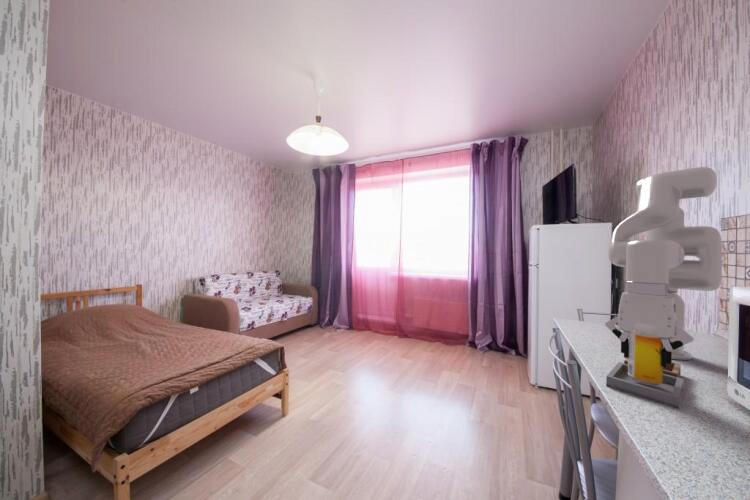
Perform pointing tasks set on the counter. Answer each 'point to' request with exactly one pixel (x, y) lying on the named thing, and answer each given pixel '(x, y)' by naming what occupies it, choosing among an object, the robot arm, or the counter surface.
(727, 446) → the counter surface
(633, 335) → the beer can
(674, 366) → the collar
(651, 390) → the tray
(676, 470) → the counter surface
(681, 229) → the robot arm
